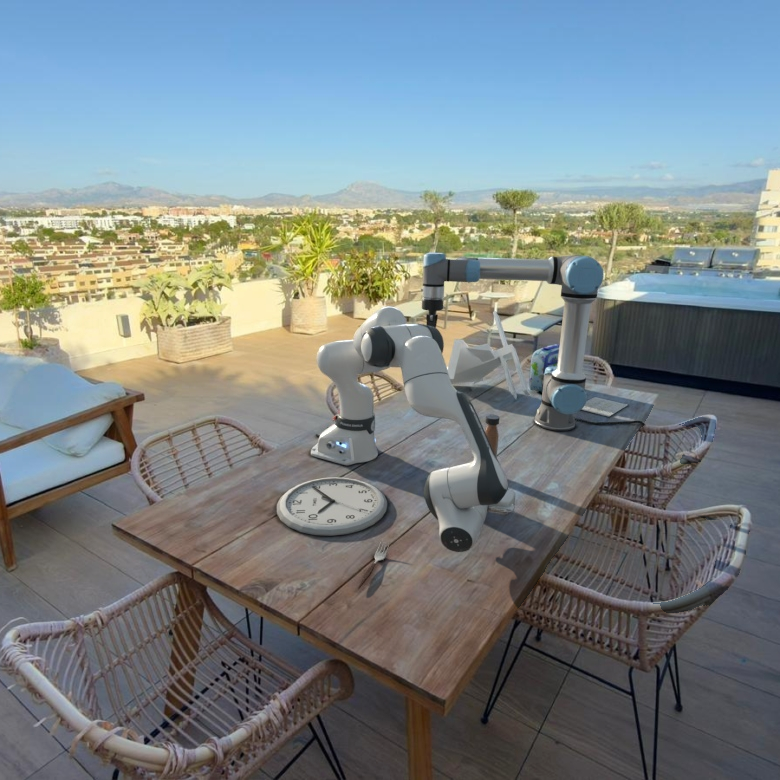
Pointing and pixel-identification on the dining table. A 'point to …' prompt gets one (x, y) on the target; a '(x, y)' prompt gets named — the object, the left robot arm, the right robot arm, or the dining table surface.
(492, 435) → the bottle
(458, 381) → the white plastic object
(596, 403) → the invitation card
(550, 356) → the lunch box
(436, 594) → the dining table surface
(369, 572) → the fork
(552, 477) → the dining table surface
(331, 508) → the wall clock
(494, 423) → the cap
